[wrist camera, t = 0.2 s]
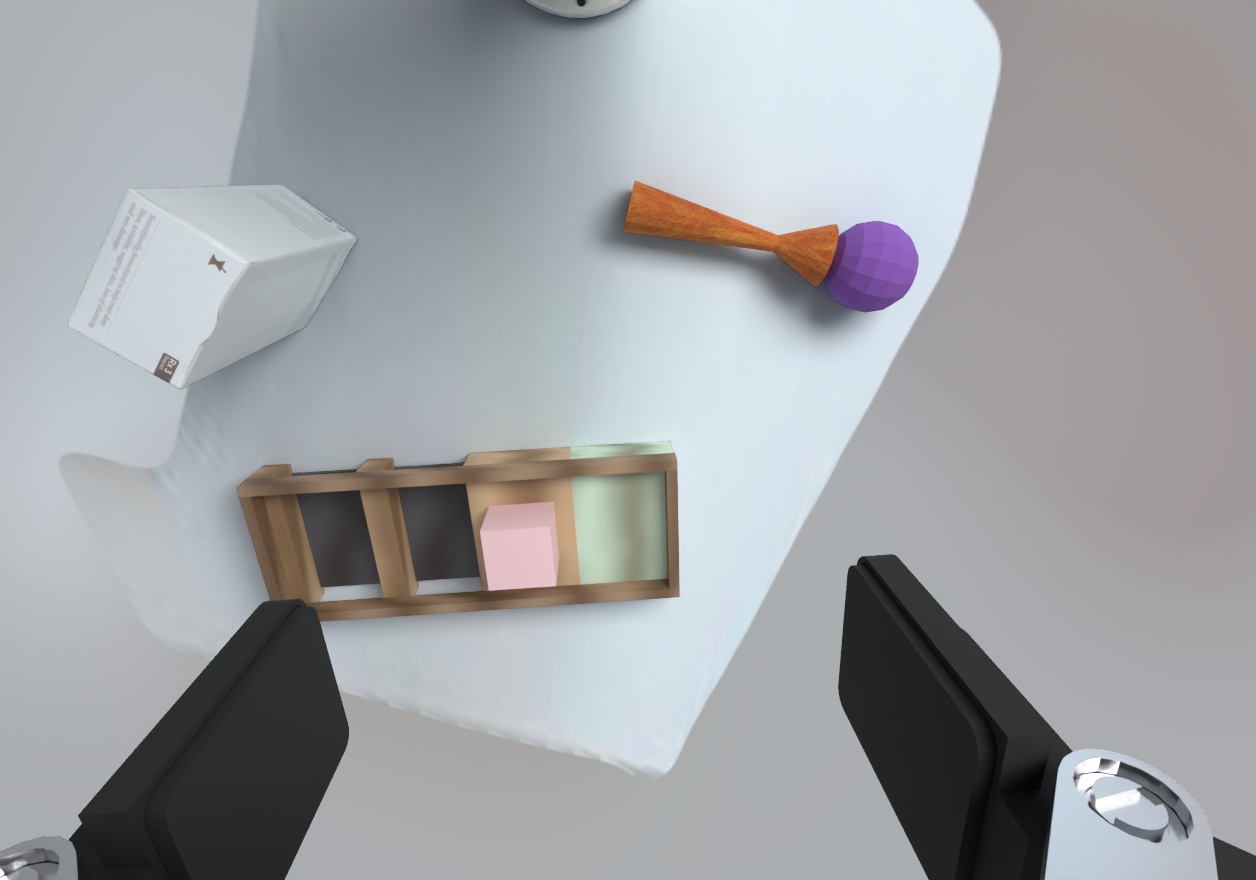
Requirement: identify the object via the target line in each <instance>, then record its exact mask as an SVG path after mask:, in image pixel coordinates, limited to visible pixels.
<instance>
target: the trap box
mask: <svg viewBox="0 0 1256 880" xmlns="http://www.w3.org/2000/svg"><path fill="white" fill-rule="evenodd" d="M236 489H237V492H238V496H239V499H240V502H241V506H242V509H243V512H244V515H245V519H246V522H247V525H248V528H249V532H250V535H251V538H252V542H253V545H254V548H255V551H256V555H257V558H258V561H259V565H260V568H261V571H262V574H263V578H264V581H265V584H266V587H267V591H268V594H269V597H270V601H275V600H288V599H301V600H303V601H304V602H305V603H306V605H307V607H308V606H311V607H314V608H315V610H316V612H317V614H318V618H319V621H335V620H349V619H364V618H379V617H393V616H408V615H423V614H437V613H452V612H467V611H481V610H496V609H511V608H525V607H540V606H555V605H570V604H584V603H599V602H614V601H628V600H643V599H658V598H672V597H680V595H679V539H678V483H677V459H676V455H675V452H674V449H673V446H672V443H671V441H662V442H646V443H629V444H613V445H596V446H579V447H563V448H546V449H530V450H513V451H497V452H480V453H469V455H468V457H467V459H466V461H465V463H453V464H437V465H420V466H404V467H395V465H394V460H393V458H381V459H367V460H366V461H365V462H364V464H363V465H362V466H361V467H360V468H359V469H355V470H338V471H322V472H305V473H292V469H291V466H290V464H281V465H265V466H263V467H262V468H260V469H259V470H258V471H256V472H255V473H254V474H253V475H251V476H250V477H249V478H247V479H246V480H245V481H244V482H242V483H241V484H240V485H238V486H237V487H236ZM543 502H554V510H555V520H556V530H557V540H558V550H559V564H558V574H557V583H556V586H552V587H537V588H522V589H507V590H492V591H489V589H488V582H487V576H486V569H485V562H484V556H483V549H482V543H481V536H480V530H481V527H482V524H483V521H484V519H485V516H486V513H487V510H488V507H489V506H495V505H511V504H527V503H543ZM479 576H480V578H481V584H482V591H477V592H462V593H447V594H432V595H417V596H414V595H415V593H416V591H417V589H418V587H419V586H418V581H419V580H434V579H449V578H464V577H479ZM373 583H381V587H382V591H383V596H384V598H373V599H358V600H343V601H328V602H318V601H319V600H320V598H321V597H322V596H323V594H324V590H323V587H328V586H343V585H358V584H373Z"/></svg>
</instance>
